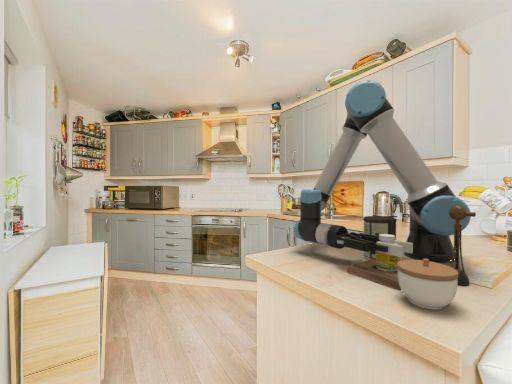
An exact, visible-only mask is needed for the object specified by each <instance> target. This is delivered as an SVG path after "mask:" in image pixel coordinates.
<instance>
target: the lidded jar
mask: <svg viewBox="0 0 512 384" xmlns="http://www.w3.org/2000/svg"><path fill="white" fill-rule="evenodd" d="M397 275H398V282H399V286H400V288H401V290H402V291H401V292H402V293H403V295H404V296H405V297H406V298H407V299H408V301H409V302H410V303H411V304H413V305H415V306H417V307H419V308H423V309H426V310H433V311H437V310H443V308H444V307H445V306H447V305H449V304H450V303H452V302H453V301H454V298H455V297H456V294H457V291H458V286H457V283H458V271H457V270H455V267H453V268H452V267H451V266H450V265H446V264H443V263H441V262H433V261H429V259H423V260H420V259H402V260H399V261H398V263H397Z"/></svg>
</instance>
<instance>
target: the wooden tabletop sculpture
mask: <svg viewBox="0 0 512 384" xmlns="http://www.w3.org/2000/svg"><path fill="white" fill-rule="evenodd" d="M449 216H450V217H451V218H452V219H454V220H456V224H454V235H453V247H454V251H453V260H452V262H451V266H450V267H452V268H454V269H455V270H457V271H458V283H457V287H469V286H470V279H469V276H468V275H467V274H466V272H465V268H464V267H465V266H464V263H463V251H462V231H461V227H462V225H461V224H460V220H464V219H465V218H466V217H467V216H471V217H474V218H475V217H476V216H477V213H476V212H473V211H470V212H467V210H466V209H465V208H464V207H462V206H458V205H457V206H453V207H451V208H450V210H449ZM454 258H455V261H454ZM454 263H455V264H454ZM460 263H461V265H460Z"/></svg>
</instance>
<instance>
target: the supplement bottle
mask: <svg viewBox="0 0 512 384" xmlns="http://www.w3.org/2000/svg"><path fill="white" fill-rule="evenodd" d="M379 240H380V241H379V242H382V243H388V244H393V245H397V244H396V243H394V241H395V236H394V235H390V234H379ZM398 262H399V261H398V256H393V255H389V254H384V253H380V252H376V267H377V269H379V270H381V271H385V272H388V273H392V272H395V271H397V263H398Z"/></svg>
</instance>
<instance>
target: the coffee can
mask: <svg viewBox="0 0 512 384" xmlns="http://www.w3.org/2000/svg"><path fill="white" fill-rule="evenodd" d="M362 219H363V233H364V234H368V235H375V236H379V234H390V235H394V236H395V240H397V218H395V217H389V216H388V217H387V216H364V217H363V218H362ZM363 258H364V259H366V260H371V259H375V258H376V250H375V254H371V251H370V252H365V251H363Z"/></svg>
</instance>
